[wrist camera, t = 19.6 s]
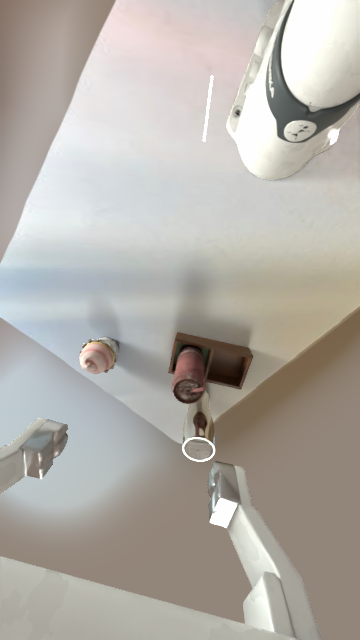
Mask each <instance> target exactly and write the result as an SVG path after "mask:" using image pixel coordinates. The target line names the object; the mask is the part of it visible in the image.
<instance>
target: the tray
mask: <svg viewBox="0 0 360 640" xmlns="http://www.w3.org/2000/svg"><path fill="white" fill-rule="evenodd" d="M186 345H194V346H197V347H199V348H200V349H201V350H202V352H203V359H204V376H205V380H206V382H210V383H215V384H219V385H223V386H228V387H232V388H236V389H241V388H242V386H243V383H244V380H245V377H246V375H247V372H248V369H249V367H250V364H251V361H252V358H253V355H252V353H251V351H250V350H249V348H246V347H242V346H237V345H233V344H228V343H224V342H219V341H214V340H210V339H205V338H201V337H196V336H192V335H187V334H183V333H178V332H177V335H176V338H175V342H174V347H173V352H172V357H171V362H170V367H169V372H168V373H171V374H175V370H176V365H177V361H178V356H179V352H180V350H181V349H182V348H183V347H184V346H186Z"/></svg>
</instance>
